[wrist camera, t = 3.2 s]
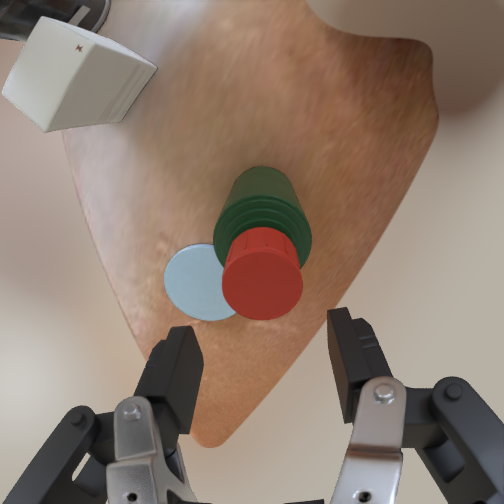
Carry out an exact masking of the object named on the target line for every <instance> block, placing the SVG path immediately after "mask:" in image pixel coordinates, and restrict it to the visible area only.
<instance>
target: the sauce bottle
mask: <svg viewBox="0 0 504 504" xmlns="http://www.w3.org/2000/svg"><path fill="white" fill-rule="evenodd" d="M257 227H268V228H272V229H276V230H278V231H280V232H282V233H284V234H285V235H286V236H287V237H288V238H289V239H290V241H291V242H292V244H293V245H294V247H295V248H296V252H297V256H298V260H299V264H300V269H301V268H302V266H303V265H304V264H305V262H306V260H307V259H308V256H309V254H310V250H311V244H312V235H311V229H310V226H309V223H308V221H307V219H306V216H305V214H304V212H303V210H302V207H301V205H300V203H299V200H298V198H297V196H296V194H295V192H294V189H293V187H292V185H291V183H290V181H289V180H288V178H287V177H286V176H285V175H284V174H283V173H281V172H280V171H278V170H276V169H274V168H271V167H262V166H261V167H255V168H251V169H249V170H247V171H245V172H244V173H242V174H241V175H240V176H239V177H238V179H237V180H236V181H235V183H234V185H233V187H232V190H231V192H230V194H229V196H228V198H227V201H226V203H225V205H224V207H223V210H222V212H221V214H220V216H219V219H218V221H217V223H216V226H215V229H214V234H213V245H214V250H215V254H216V256H217V258H218V261H219V262H220V264H221V265H222V267H223V268H224V266H225V262H226V259H227V256H228V253H229V250H230V247H231V245H232V242H233V241H234V240H235V239H236V238H237V237H238V236H239V235H240V234H242V233H243V232H245V231H247V230H249V229H252V228H257Z"/></svg>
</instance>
